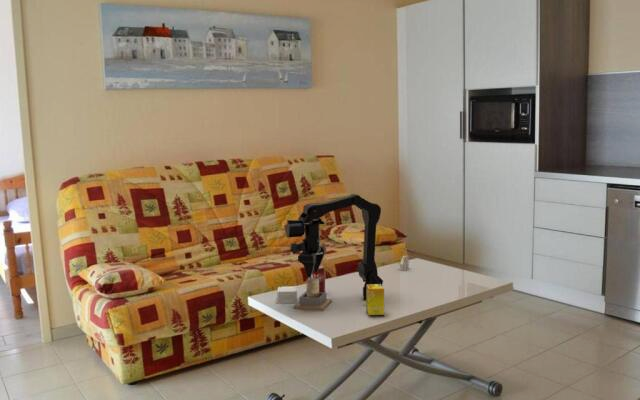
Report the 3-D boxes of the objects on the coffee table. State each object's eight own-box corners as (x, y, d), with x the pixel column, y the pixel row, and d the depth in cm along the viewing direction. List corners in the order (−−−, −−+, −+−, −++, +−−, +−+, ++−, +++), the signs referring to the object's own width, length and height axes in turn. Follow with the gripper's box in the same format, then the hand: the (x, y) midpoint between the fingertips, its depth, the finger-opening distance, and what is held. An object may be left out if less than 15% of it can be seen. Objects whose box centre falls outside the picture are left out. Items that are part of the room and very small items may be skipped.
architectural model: (397, 271, 291) (397, 256, 290) (403, 268, 297) (403, 253, 296) (403, 272, 289) (403, 257, 288) (409, 269, 295) (409, 254, 294)
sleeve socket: (331, 301, 241) (331, 291, 240) (323, 310, 230) (323, 300, 229) (303, 299, 244) (303, 289, 244) (293, 308, 233) (293, 298, 232)
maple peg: (320, 300, 238) (320, 278, 237) (317, 304, 234) (316, 282, 233) (308, 299, 240) (308, 278, 239) (305, 303, 235) (304, 281, 234)
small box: (296, 303, 240) (296, 291, 239) (277, 304, 240) (277, 291, 239) (297, 298, 248) (296, 286, 247) (278, 298, 247) (277, 286, 247)
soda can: (323, 297, 248) (323, 269, 246) (306, 296, 249) (306, 268, 248) (326, 292, 255) (326, 264, 253) (310, 291, 256) (309, 264, 255)
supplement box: (365, 312, 228) (365, 284, 226) (381, 311, 228) (381, 283, 227) (368, 317, 222) (368, 288, 220) (384, 316, 222) (384, 288, 221)
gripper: (300, 230, 244) (300, 268, 246) (284, 239, 227) (285, 279, 229) (326, 232, 241) (326, 269, 243) (312, 240, 224) (313, 281, 226)
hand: (312, 274), depth 235 cm, fingers open, 9 cm apart
